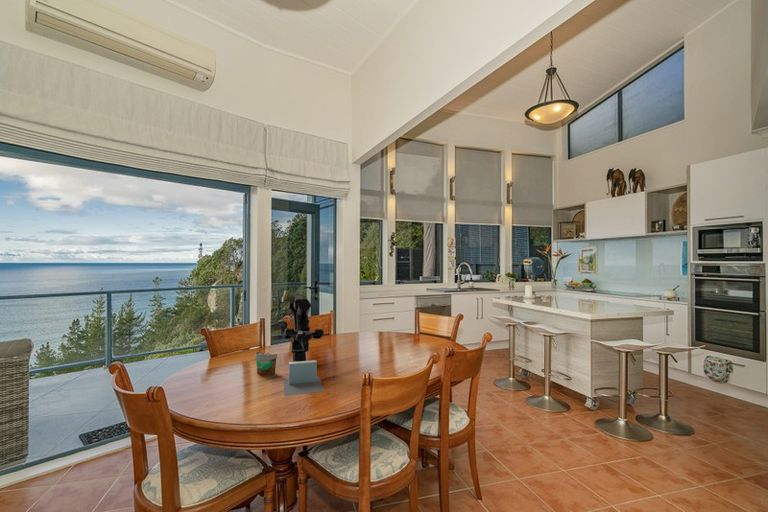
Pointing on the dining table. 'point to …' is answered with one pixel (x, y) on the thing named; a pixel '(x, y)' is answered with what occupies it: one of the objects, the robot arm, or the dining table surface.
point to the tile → (302, 372)
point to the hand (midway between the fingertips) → (305, 350)
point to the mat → (302, 387)
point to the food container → (265, 363)
